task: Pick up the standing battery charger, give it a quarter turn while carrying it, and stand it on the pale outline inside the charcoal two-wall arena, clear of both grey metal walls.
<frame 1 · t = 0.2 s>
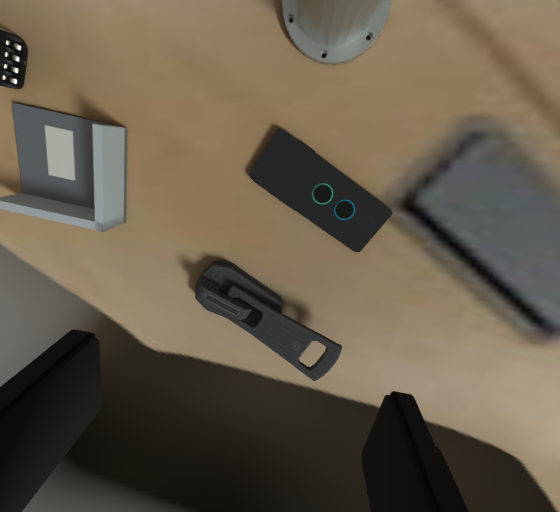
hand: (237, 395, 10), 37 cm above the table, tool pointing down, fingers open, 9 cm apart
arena: (74, 166, 44), on the table
smart home device: (320, 192, 44), on the table
zipper pull: (267, 308, 51), on the table
battery charger: (20, 64, 40), on the table
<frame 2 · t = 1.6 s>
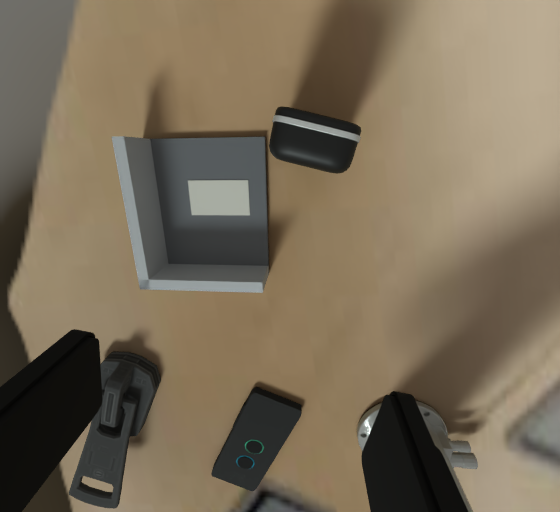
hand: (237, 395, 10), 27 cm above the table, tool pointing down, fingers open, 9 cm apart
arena: (209, 209, 35), on the table
smart home device: (255, 435, 48), on the table
zipper pull: (126, 412, 48), on the table
battery charger: (311, 146, 32), on the table
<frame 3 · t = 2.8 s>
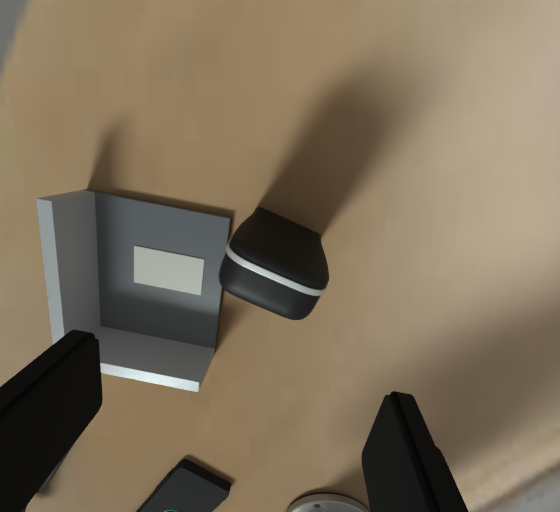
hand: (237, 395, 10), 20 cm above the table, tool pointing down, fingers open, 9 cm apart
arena: (156, 278, 31), on the table
smart home device: (176, 501, 44), on the table
battery charger: (281, 236, 28), on the table
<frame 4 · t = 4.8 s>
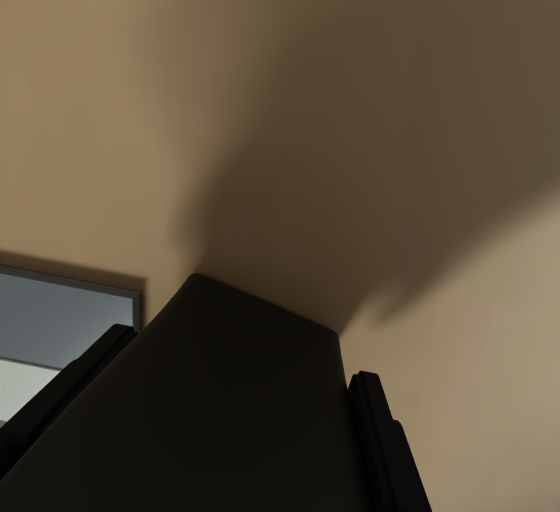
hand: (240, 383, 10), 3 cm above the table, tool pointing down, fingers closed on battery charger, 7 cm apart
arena: (7, 400, 15), on the table
battery charger: (252, 330, 13), on the table, touching gripper
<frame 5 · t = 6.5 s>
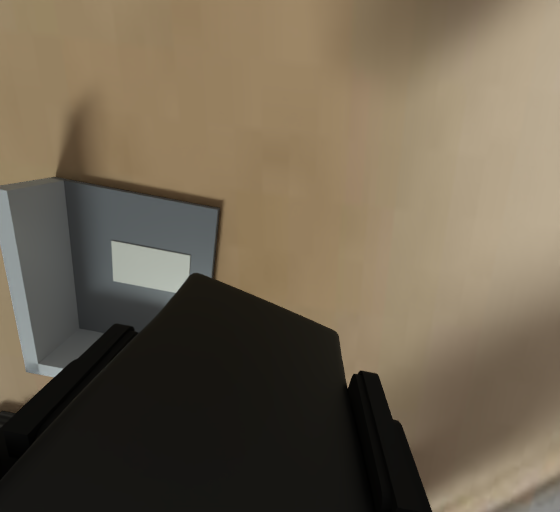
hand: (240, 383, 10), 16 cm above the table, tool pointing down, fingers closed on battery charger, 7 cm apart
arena: (138, 276, 28), on the table
battery charger: (253, 329, 13), point 13 cm above the table, touching gripper
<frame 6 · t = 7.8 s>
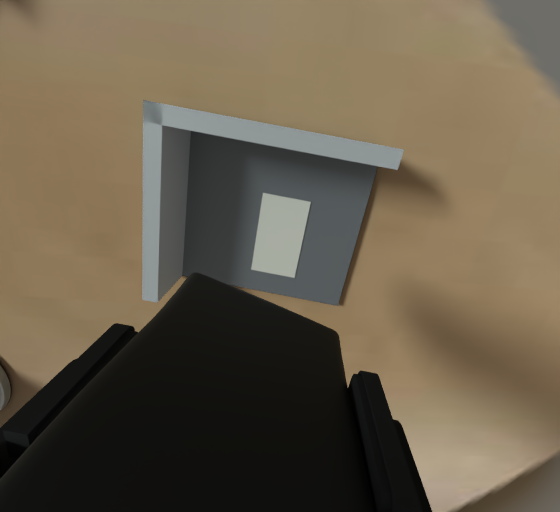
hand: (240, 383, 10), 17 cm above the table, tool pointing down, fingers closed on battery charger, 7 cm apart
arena: (266, 215, 25), on the table
battery charger: (252, 329, 13), point 14 cm above the table, touching gripper
when the fingers open (5 cm above the table, at t = 11.0 s): battery charger drops 1 cm, resting on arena.
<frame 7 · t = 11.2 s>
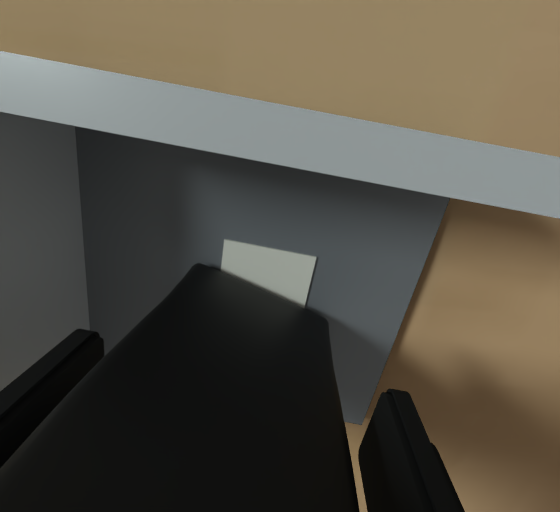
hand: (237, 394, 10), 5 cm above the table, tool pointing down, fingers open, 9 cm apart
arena: (233, 276, 14), on the table
battery charger: (250, 316, 14), point 1 cm above the table, touching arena
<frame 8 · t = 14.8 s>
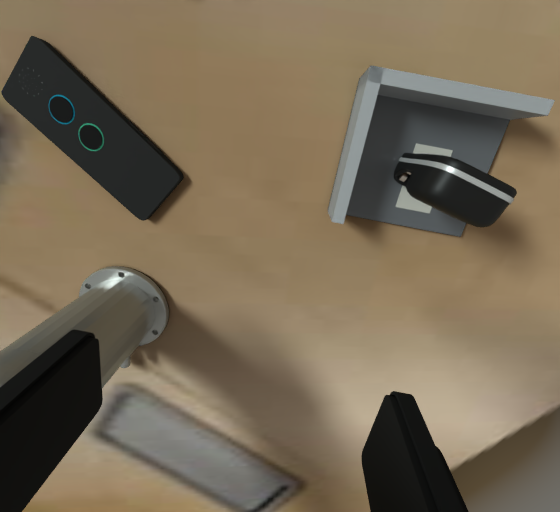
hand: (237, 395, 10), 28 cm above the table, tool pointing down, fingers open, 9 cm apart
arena: (412, 163, 33), on the table
smart home device: (103, 137, 35), on the table
battery charger: (418, 180, 33), resting on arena
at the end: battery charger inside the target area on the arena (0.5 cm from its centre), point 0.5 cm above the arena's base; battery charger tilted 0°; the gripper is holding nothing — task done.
